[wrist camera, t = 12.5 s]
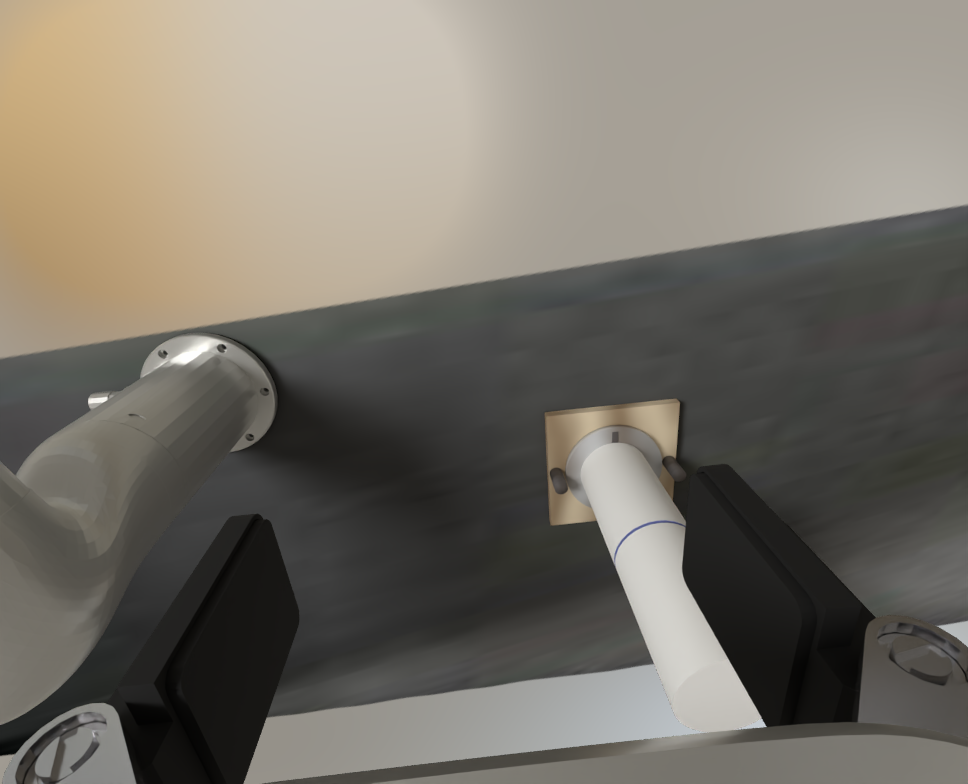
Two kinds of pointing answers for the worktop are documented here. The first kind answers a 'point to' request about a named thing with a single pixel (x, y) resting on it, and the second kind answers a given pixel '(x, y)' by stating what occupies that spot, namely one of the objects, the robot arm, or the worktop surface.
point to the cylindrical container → (663, 589)
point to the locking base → (596, 427)
